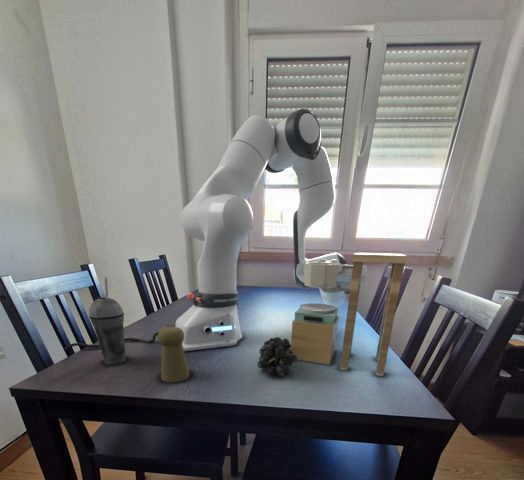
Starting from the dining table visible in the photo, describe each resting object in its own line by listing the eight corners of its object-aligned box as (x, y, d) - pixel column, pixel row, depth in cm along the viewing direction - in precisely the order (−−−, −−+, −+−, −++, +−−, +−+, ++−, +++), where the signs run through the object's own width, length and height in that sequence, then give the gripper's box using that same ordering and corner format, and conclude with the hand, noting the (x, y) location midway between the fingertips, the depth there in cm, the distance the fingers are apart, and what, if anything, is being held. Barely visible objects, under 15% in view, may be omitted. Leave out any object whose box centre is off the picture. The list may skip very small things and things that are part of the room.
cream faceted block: (334, 288, 64) (336, 264, 62) (300, 286, 67) (301, 263, 65) (342, 278, 81) (344, 260, 79) (315, 277, 83) (316, 259, 81)
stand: (384, 376, 63) (407, 255, 54) (338, 369, 67) (353, 254, 57) (383, 358, 74) (402, 253, 64) (343, 353, 77) (356, 252, 68)
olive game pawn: (155, 379, 60) (148, 330, 56) (171, 368, 66) (166, 323, 62) (179, 384, 59) (174, 333, 55) (194, 372, 64) (190, 325, 60)
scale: (329, 364, 69) (335, 313, 65) (290, 358, 73) (293, 309, 68) (334, 351, 78) (340, 304, 73) (299, 346, 81) (302, 301, 77)
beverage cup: (94, 360, 69) (76, 277, 62) (124, 353, 74) (110, 275, 67) (105, 369, 65) (87, 280, 57) (136, 360, 70) (123, 278, 62)
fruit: (268, 321, 71) (265, 339, 57) (299, 332, 72) (303, 353, 58) (257, 351, 74) (251, 375, 60) (286, 362, 75) (287, 388, 61)
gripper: (301, 271, 94) (293, 250, 81) (366, 274, 87) (369, 251, 74) (298, 289, 93) (289, 270, 80) (363, 293, 86) (365, 274, 73)
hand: (328, 261), depth 77 cm, fingers closed on cream faceted block
